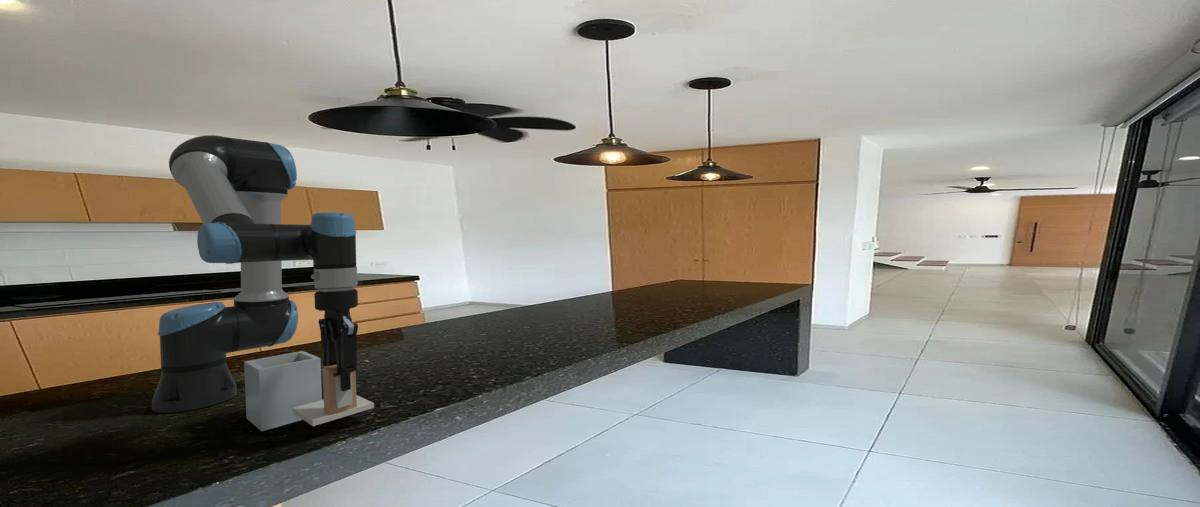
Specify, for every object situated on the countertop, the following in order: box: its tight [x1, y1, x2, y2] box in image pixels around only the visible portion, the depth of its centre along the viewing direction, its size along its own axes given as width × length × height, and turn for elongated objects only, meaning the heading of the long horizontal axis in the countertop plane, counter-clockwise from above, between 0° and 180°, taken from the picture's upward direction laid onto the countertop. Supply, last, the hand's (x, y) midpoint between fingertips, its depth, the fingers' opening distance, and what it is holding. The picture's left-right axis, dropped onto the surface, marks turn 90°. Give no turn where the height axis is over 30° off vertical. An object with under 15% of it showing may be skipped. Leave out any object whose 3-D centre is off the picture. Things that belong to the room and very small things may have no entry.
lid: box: [292, 364, 375, 427], centre depth 91 cm, size 11×11×10 cm
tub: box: [243, 350, 323, 432], centre depth 96 cm, size 11×11×12 cm
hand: (340, 403), depth 89 cm, fingers closed on lid, 3 cm apart
